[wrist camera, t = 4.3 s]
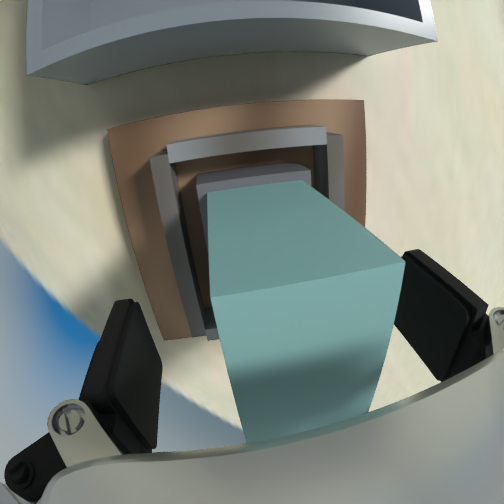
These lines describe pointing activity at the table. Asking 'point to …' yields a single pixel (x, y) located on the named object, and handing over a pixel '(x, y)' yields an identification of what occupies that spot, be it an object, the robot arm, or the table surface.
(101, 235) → the table surface
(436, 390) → the robot arm
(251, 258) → the teal rectangular block
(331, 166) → the socket block
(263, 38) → the bin
